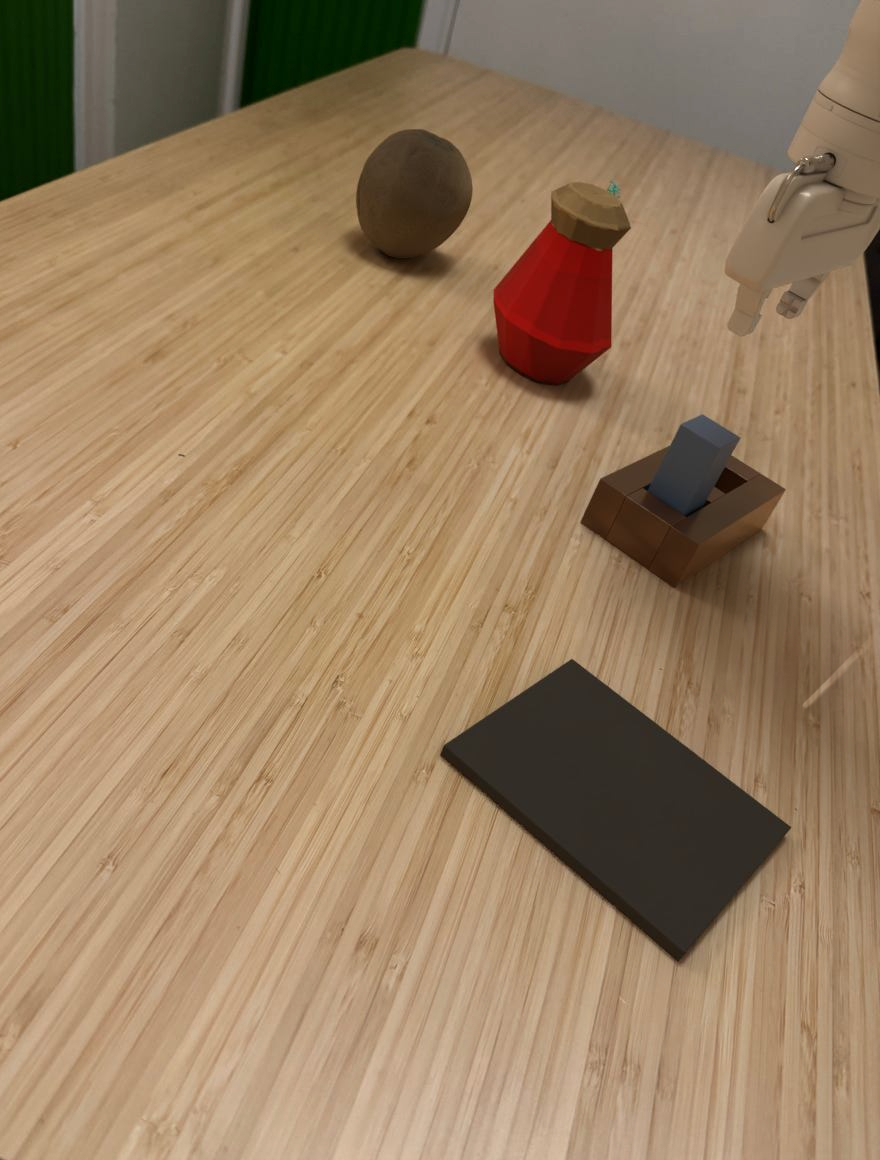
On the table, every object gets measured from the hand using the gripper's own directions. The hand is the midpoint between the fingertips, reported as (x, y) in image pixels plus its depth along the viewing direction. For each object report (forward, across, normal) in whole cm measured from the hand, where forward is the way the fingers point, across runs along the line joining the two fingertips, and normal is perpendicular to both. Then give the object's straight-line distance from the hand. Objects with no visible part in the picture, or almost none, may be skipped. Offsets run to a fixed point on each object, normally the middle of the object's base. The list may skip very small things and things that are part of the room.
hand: (763, 323), depth 86 cm
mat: (+22, -32, -16) cm, 42 cm away
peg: (+22, 0, 0) cm, 22 cm away
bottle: (+22, +17, +28) cm, 39 cm away
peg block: (+22, +4, 0) cm, 22 cm away
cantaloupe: (+22, +23, +56) cm, 64 cm away
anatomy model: (+22, +78, +60) cm, 101 cm away
